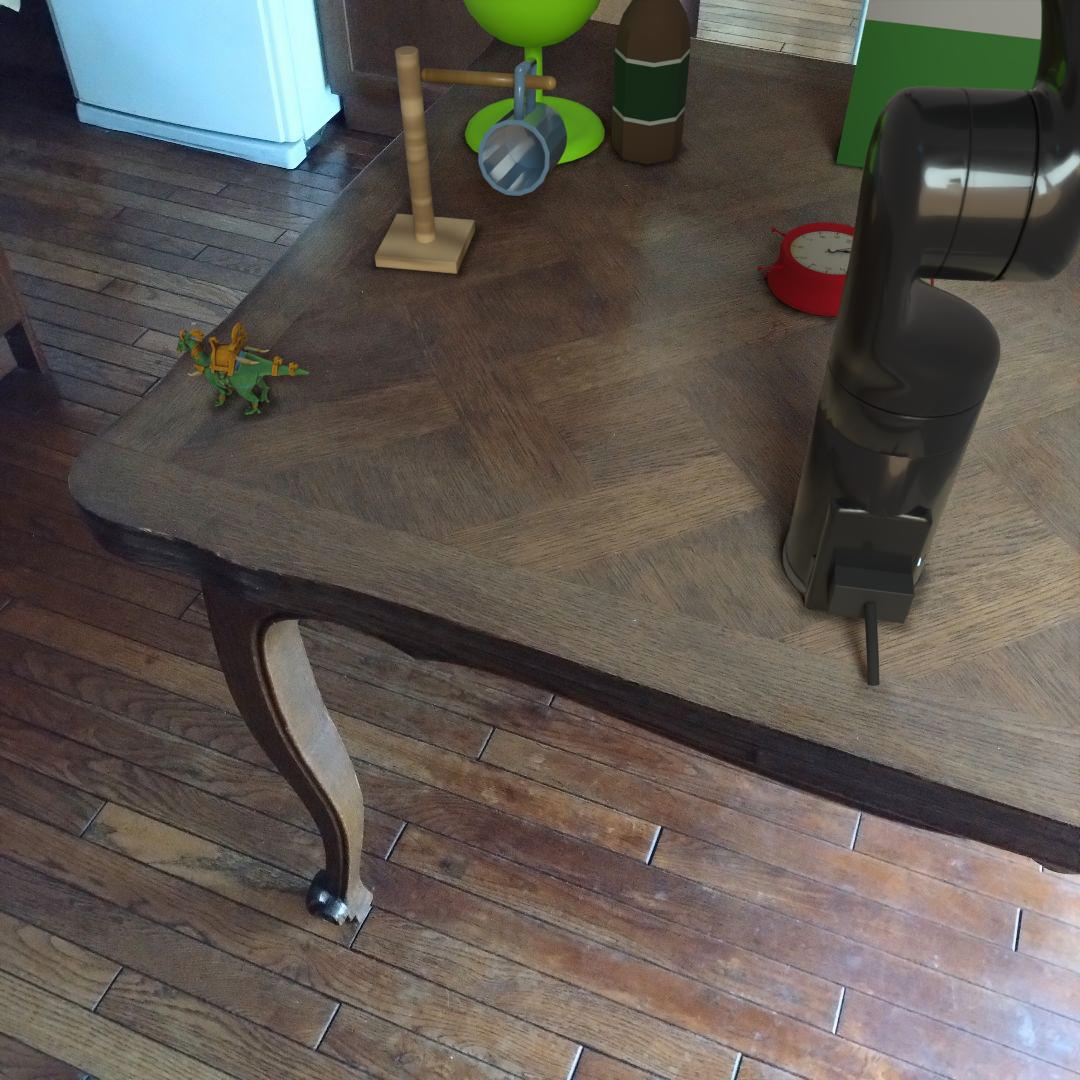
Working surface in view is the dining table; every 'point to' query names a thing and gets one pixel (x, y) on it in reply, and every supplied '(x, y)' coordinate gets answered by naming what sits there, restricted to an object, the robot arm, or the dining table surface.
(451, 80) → the mug stand
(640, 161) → the beer bottle
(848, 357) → the robot arm
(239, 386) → the figurine
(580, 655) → the dining table surface
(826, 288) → the alarm clock
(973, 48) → the hardback book
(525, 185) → the mug
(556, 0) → the wineglass
